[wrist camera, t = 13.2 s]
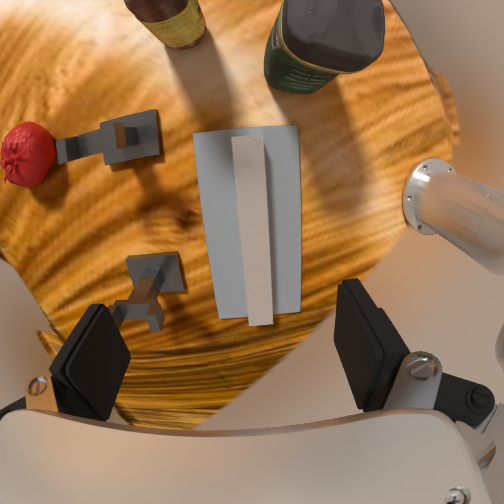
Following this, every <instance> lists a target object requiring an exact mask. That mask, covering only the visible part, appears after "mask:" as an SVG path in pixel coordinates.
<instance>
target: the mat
mask: <svg viewBox="0 0 504 504" xmlns="http://www.w3.org/2000/svg"><path fill="white" fill-rule="evenodd" d="M247 135H263V143H264V158H265V173H266V189H267V206H268V224H269V243H270V263H271V285H272V309H273V315H274V314H284V313H293V312H300V305H301V191H300V162H299V141H298V125H288V126H264V127H249V128H236V129H226V130H216V131H208V132H200V133H193V141H194V150H195V159H196V168H197V176H198V184H199V192H200V200H201V207H202V215H203V222H204V229H205V236H206V242H207V249H208V255H209V262H210V268H211V274H212V280H213V286H214V292H215V298H216V303H217V309H218V315H219V319H226V318H240V317H248V309H247V299H246V290H245V280H244V270H243V259H242V249H241V239H240V228H239V218H238V207H237V196H236V185H235V174H234V163H233V152H232V140H231V137H234V136H247Z"/></svg>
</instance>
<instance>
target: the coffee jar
mask: <svg viewBox="0 0 504 504" xmlns="http://www.w3.org/2000/svg"><path fill="white" fill-rule="evenodd" d="M384 36H385V16H384V6H383V3H382V0H283V2H282V5H281V8H280V11H279V13H278V16H277V18H276V21H275V23H274V26H273V28H272V31H271V33H270V36H269V39H268V42H267V46H266V50H265V57H264V75H265V78H266V80H267V82H268V83H269V84H270V85H271V86H272V87H274V88H276V89H278V90H281V91H285V92H289V93H295V94H310V93H313V92H315V91H317V90H318V89H320V88H321V87H323V86H324V85H325V84H327V83H328V82H329V81H330V80H332V79H333V78H334V77H336V76H337V75H339V74H352V73H356V72H359V71H361V70H363V69H364V68H366V67H367V66H369V65H370V64H371V63H373V62H374V61H375V60H377V59H378V58H379V57H380V55H381V53H382V51H383V46H384Z"/></svg>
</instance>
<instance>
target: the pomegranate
mask: <svg viewBox="0 0 504 504" xmlns="http://www.w3.org/2000/svg"><path fill="white" fill-rule="evenodd" d="M1 157H2V161H0V164H1V165H2V168H3V169H5V173H6V175H5V177H4V181H5V183H6V179H7V180H9V182H11V183H12V184H17V185H21V186H23V187H26V188H30V187H32V186H35V185H37V184H39V183H40V182H41V181H42V180H43V179H44V177H45V175H46V174H47V172H48V170H49V168H50V167H51V165H52V164H53V163H54V160H55V157H56V150H55V147H54V143H53V139H52V136H51V134H50V133H49V132H48V131H47V130H46V129H45V128H43V127H42V126H41V125H38V124H36V123H34V122H25V123H23V124H20V125H19V126H17V127H15V128H14V129H12V130H11V132H9V133H8V134H7V135H6V137H5V138H4V142H2V148H1ZM5 183H4V184H5Z"/></svg>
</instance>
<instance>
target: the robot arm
mask: <svg viewBox="0 0 504 504" xmlns="http://www.w3.org/2000/svg"><path fill="white" fill-rule="evenodd" d="M402 202H403V211H404V214H405V217H406V220H407V221H408V223H409V224H410V226H411V227H412V228H413V229H415V230H416V231H418V232H420V233H422V234H426V235H433V234H436V233H438V234H439V235H441V236H442V237H443V238H445V239H446V240H448V241H449V242H451V243H452V244H454V245H455V246H456V247H458V248H459V249H460V250H462V251H463V252H465V253H466V254H467V255H469V256H470V257H471V258H473V259H474V260H475V261H477V262H478V263H479V264H481V265H482V266H483V267H484V268H486V269H487V270H488V271H490V272H492V273H494V274H496V275H504V193H503V192H500V191H498V190H496V189H493V188H491V187H488V186H486V185H483V184H481V183H478V182H476V181H473V180H470V179H467V178H465V177H462V176H459V175H457V174H456V172H455V170H454V169H453V167H452V166H451V165H450V164H449V163H447V162H446V161H444V160H441V159H437V158H429V159H426V160H423V161H421V162H420V163H419V164H417V165H416V166H415V167H414V168H413V170H412V171H411V173H410V174H409V176H408V178H407V180H406V183H405V186H404V190H403V197H402ZM334 343H335V346H336V349H337V352H338V354H339V357H340V360H341V363H342V365H343V368H344V371H345V373H346V376H347V379H348V382H349V385H350V388H351V391H352V393H353V396H354V399H355V402H356V405H357V408H358V409H359V410H360V409H363V412H364V413H360V414H356V415H350V416H345V417H340V418H335V419H329V420H324V421H317V422H311V423H304V424H297V425H290V426H281V427H272V428H261V429H247V430H225V431H224V430H223V431H222V430H221V431H196V430H171V429H157V428H146V427H137V426H129V425H122V424H115V423H109V422H106V420H108V419H109V417H110V414H111V411H112V408H113V405H114V403H115V400H116V397H117V394H118V391H119V389H120V386H121V383H122V380H123V378H124V375H125V372H126V370H127V367H128V365H129V362H130V358H131V357H130V352H129V350H128V348H127V346H126V344H125V342H124V340H123V338H122V336H121V334H120V332H119V330H118V328H117V326H116V323H115V321H114V319H113V317H112V315H111V312H110V310H109V308H108V307H106V306H105V305H104V304H91V305H90V306H89V307H88V309H87V310H86V312H85V313H84V315H83V316H82V317H81V319H80V320H79V322H78V323H77V325H76V326H75V328H74V329H73V331H72V332H71V334H70V335H69V337H68V338H67V340H66V342H65V343H64V345H63V346H62V348H61V350H60V351H59V353H58V354H57V356H56V358H55V359H54V361H53V363H52V364H51V366H50V368H49V371H50V372H51V373H52V376H51V377H50V376H49V375H47V374H45V373H39V374H37V375H35V376H34V377H32V378H31V379H30V380H29V381H28V383H27V384H26V387H25V397H23V398H21V399H19V400H17V401H16V402H14V403H12V404H10V405H8V406H6V407H4V408H3V409H1V410H0V504H503V502H504V404H502V403H499V404H498V405H497V404H495V399H494V395H493V393H492V392H491V391H490V390H489V389H488V388H487V387H486V386H483V385H481V384H477V383H475V382H471V381H468V380H464V379H462V378H459V377H455V376H452V375H449V374H446V373H443V372H442V365H441V363H440V361H439V360H438V358H437V357H435V356H434V355H432V354H430V353H428V352H423V351H416V352H412V353H411V352H410V351H409V349H408V347H407V346H406V345H405V343H404V341H403V339H402V338H401V336H400V335H399V333H398V331H397V330H396V328H395V327H394V325H393V324H392V322H391V321H390V319H389V318H388V316H387V315H386V313H385V311H384V310H383V309H382V308H377V306H376V305H375V303H374V302H373V300H372V299H371V297H370V296H369V294H368V293H367V291H366V290H365V288H364V287H363V285H362V284H361V282H360V281H359V279H358V278H354V279H347V280H343V282H342V284H339V285H338V291H337V305H336V319H335V329H334ZM495 354H496V358H497V361H498V363H499V365H500V366H501V368H502V369H503V371H504V324H503V326H502V328H501V330H500V332H499V334H498V337H497V340H496V345H495Z"/></svg>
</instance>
